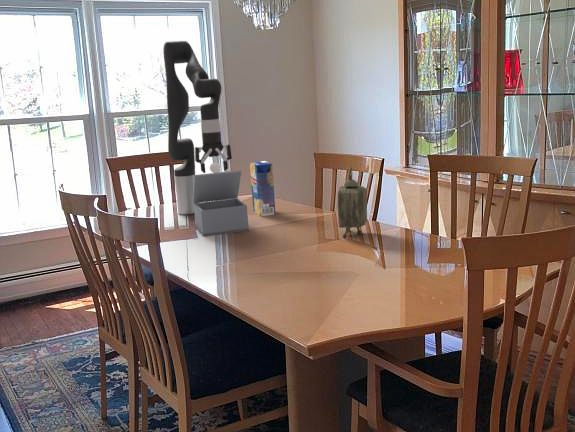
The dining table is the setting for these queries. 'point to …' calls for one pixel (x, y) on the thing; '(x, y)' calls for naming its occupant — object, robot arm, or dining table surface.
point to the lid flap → (216, 185)
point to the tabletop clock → (352, 205)
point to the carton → (221, 217)
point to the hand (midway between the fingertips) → (214, 171)
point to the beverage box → (262, 188)
